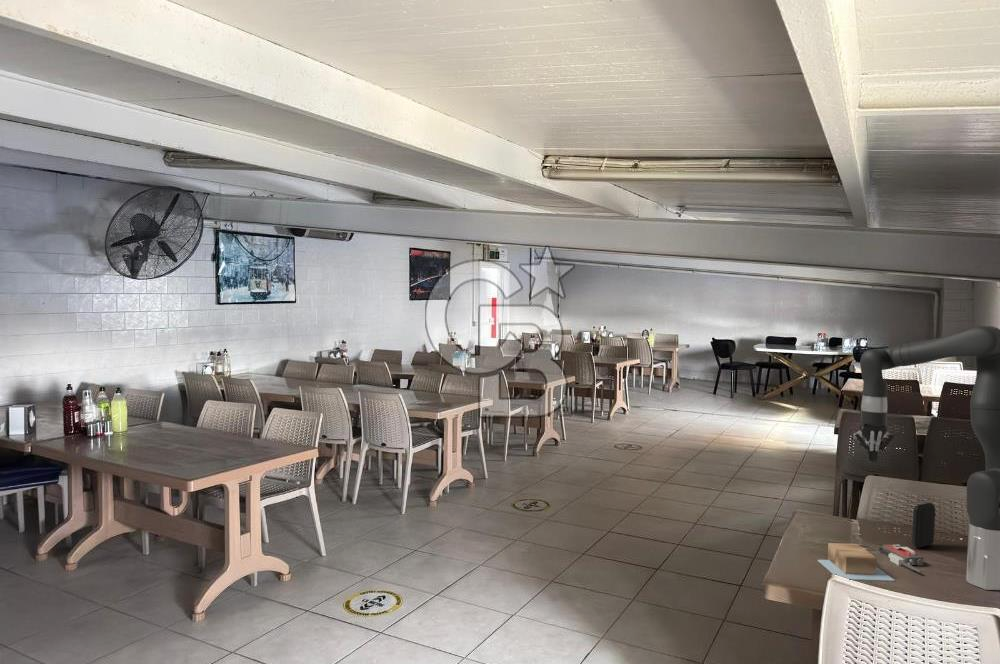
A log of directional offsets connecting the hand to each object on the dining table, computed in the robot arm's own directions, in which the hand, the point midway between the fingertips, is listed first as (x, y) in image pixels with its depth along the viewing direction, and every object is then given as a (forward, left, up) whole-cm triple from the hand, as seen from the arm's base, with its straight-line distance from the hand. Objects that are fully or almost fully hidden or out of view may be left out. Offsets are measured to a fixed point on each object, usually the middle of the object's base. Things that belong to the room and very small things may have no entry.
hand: (871, 461), depth 232 cm
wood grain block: (-12, +14, -26) cm, 32 cm away
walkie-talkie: (-12, -6, -30) cm, 33 cm away
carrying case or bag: (+3, -20, -29) cm, 35 cm away
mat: (-20, +14, -29) cm, 38 cm away
